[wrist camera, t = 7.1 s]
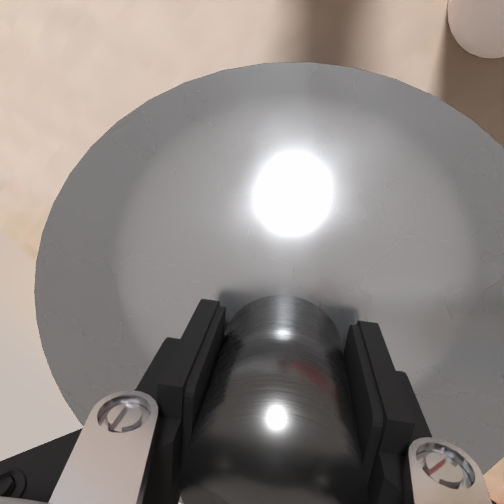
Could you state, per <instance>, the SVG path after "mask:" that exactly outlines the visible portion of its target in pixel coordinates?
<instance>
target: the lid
mask: <svg viewBox="0 0 504 504" xmlns="http://www.w3.org/2000/svg"><path fill="white" fill-rule="evenodd" d="M34 293H35V306H36V318H37V324H38V328H39V334H40V338H41V343H42V347H43V350H44V353H45V356H46V359H47V362H48V364H49V367H50V370H51V373H52V375H53V377H54V379H55V381H56V383H57V385H58V387H59V389H60V391H61V393H62V395H63V397H64V399H65V400H66V402H67V403H68V405H69V407H70V408H71V410H72V411H73V413H74V414H75V415H76V417H77V419H78V420H79V421H80V423H81V424H82V425H83V426H84V425H85V423H86V421H87V418H88V416H89V414H90V412H91V410H92V409H93V407H94V406H95V404H96V403H98V402H99V401H100V400H101V399H103V398H104V397H106V396H108V395H110V394H112V393H116V392H120V391H129V390H134V391H135V389H136V388H137V386H138V384H139V382H140V381H141V379H142V377H143V376H144V374H145V372H146V370H147V369H148V367H149V365H150V364H151V362H152V360H153V358H154V357H155V355H156V353H157V352H158V350H159V348H160V347H161V345H162V343H163V341H164V340H165V339H166V338H167V337H171V338H178V339H180V338H181V337H182V335H183V333H184V331H185V329H186V327H187V325H188V323H189V321H190V319H191V317H192V315H193V313H194V312H195V310H196V308H197V306H198V304H199V302H200V300H201V299H208V300H215V301H220V306H224V307H226V316H225V328H224V339H223V342H222V345H221V348H220V351H219V354H218V357H217V360H216V363H215V366H214V369H213V372H212V375H211V378H210V381H209V384H208V387H207V390H206V393H205V396H204V399H203V402H202V405H201V408H200V411H199V414H198V417H197V420H196V423H195V427H194V430H193V433H192V436H191V438H190V441H189V444H188V448H187V451H186V454H185V457H184V460H183V463H182V466H181V470H180V474H179V489H180V494H181V496H180V499H179V502H180V503H182V504H368V488H367V483H366V477H365V472H364V466H363V461H362V455H361V450H360V444H359V439H358V433H357V428H356V422H355V417H354V411H353V406H352V400H351V394H350V389H349V383H348V378H347V372H346V367H345V361H344V356H343V354H344V349H345V344H346V339H347V334H348V330H349V326H350V324H353V325H356V323H357V321H358V320H360V321H367V322H374V323H378V324H379V327H380V330H381V332H382V335H383V338H384V340H385V343H386V346H387V349H388V351H389V354H390V357H391V359H392V362H393V365H394V367H395V370H396V371H403V372H405V373H406V374H407V376H408V378H409V381H410V383H411V386H412V388H413V391H414V393H415V396H416V398H417V400H418V403H419V405H420V408H421V410H422V413H423V415H424V418H425V420H426V423H427V425H428V427H429V430H430V432H431V435H432V437H433V438H438V439H441V440H444V441H447V442H449V443H451V444H453V445H455V446H457V447H458V448H460V449H462V450H463V451H464V452H465V453H467V454H468V455H469V456H470V457H471V458H472V459H473V460H474V461H475V463H476V464H477V465H478V466H479V468H480V470H481V472H482V474H483V475H484V474H485V473H486V472H487V471H488V470H489V469H490V468H492V467H493V466H494V465H495V464H496V463H497V462H498V461H500V460H501V459H502V458H503V457H504V147H503V146H502V145H500V144H499V143H498V142H497V141H496V140H495V139H494V138H492V137H491V136H490V135H489V134H488V133H487V132H486V131H484V130H483V129H482V128H481V127H480V126H479V125H478V124H476V123H475V122H474V121H473V120H472V119H470V118H469V117H467V116H466V115H464V114H462V113H461V112H459V111H458V110H456V109H454V108H453V107H451V106H450V105H448V104H447V103H445V102H443V101H442V100H440V99H439V98H437V97H435V96H433V95H431V94H429V93H426V92H424V91H422V90H419V89H417V88H415V87H413V86H410V85H408V84H406V83H403V82H401V81H399V80H397V79H394V78H390V77H386V76H383V75H379V74H375V73H372V72H368V71H364V70H361V69H357V68H353V67H345V66H337V65H329V64H321V63H312V62H291V63H263V64H257V65H251V66H245V67H239V68H233V69H227V70H222V71H219V72H216V73H213V74H210V75H207V76H204V77H201V78H198V79H194V80H191V81H188V82H185V83H183V84H181V85H179V86H177V87H175V88H173V89H171V90H169V91H166V92H164V93H162V94H160V95H158V96H156V97H154V98H152V99H150V100H148V101H147V102H145V103H144V104H143V105H141V106H140V107H138V108H137V109H135V110H134V111H132V112H131V113H130V114H128V115H127V116H125V117H124V118H122V119H121V120H119V121H118V122H117V123H116V124H115V125H114V126H113V127H111V128H110V129H109V130H108V131H107V132H106V133H105V134H104V135H103V136H102V137H101V138H100V139H99V140H98V141H97V142H96V143H95V144H93V145H92V146H91V147H90V149H89V150H88V151H87V153H86V154H85V155H84V156H83V158H82V159H81V160H80V162H79V163H78V164H77V165H76V167H75V168H74V169H73V171H72V172H71V173H70V174H69V176H68V178H67V180H66V182H65V183H64V185H63V187H62V189H61V191H60V192H59V194H58V196H57V198H56V200H55V201H54V203H53V206H52V209H51V211H50V214H49V217H48V219H47V222H46V225H45V227H44V230H43V233H42V237H41V242H40V247H39V252H38V256H37V261H36V274H35V291H34Z"/></svg>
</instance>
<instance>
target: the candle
mask: <svg viewBox="0 0 504 504" xmlns="http://www.w3.org/2000/svg"><path fill="white" fill-rule="evenodd" d="M447 10H448V23H449V26H450V30H451V33H452V35H453V37H454V38H455V40H456V41H457V43H458V44H459V45H460V46H461V47H462V48H463V49H465V50H466V51H467V52H468V53H470V54H473V55H476V56H478V57H481V58H494V59H495V58H500V57H504V0H448V5H447Z"/></svg>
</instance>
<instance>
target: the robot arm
mask: <svg viewBox="0 0 504 504" xmlns="http://www.w3.org/2000/svg"><path fill="white" fill-rule="evenodd" d="M225 316H226V307H224V306H220V301H215V300H208V299H201V300H200V302H199V304H198V306H197V308H196V310H195V312H194V313H193V315H192V317H191V319H190V321H189V323H188V325H187V327H186V329H185V331H184V333H183V335H182V337H181V338H180V339H178V338H171V337H167V338H166V339H165V340H164V341H163V343H162V345H161V347H160V348H159V350H158V352H157V353H156V355H155V357H154V358H153V360H152V362H151V364H150V365H149V367H148V369H147V370H146V372H145V374H144V376H143V377H142V379H141V381H140V382H139V384H138V386H137V388H136V389H135V391H134V390H129V391H120V392H116V393H112V394H110V395H108V396H106V397H104V398H103V399H101V400H100V401H99V402H98V403H96V404H95V406H94V407H93V409H92V410H91V412H90V414H89V416H88V418H87V421H86V423H85V425H84V427H83V428H82V429H80V430H77V431H75V432H72V433H70V434H67V435H65V436H62V437H60V438H57V439H55V440H52V441H50V442H47V443H45V444H43V445H40V446H38V447H35V448H32V449H30V450H27V451H25V452H23V453H20V454H18V455H15V456H13V457H10V458H8V459H5V460H3V461H0V504H178V502H179V499H180V496H181V494H180V489H179V474H180V470H181V466H182V463H183V460H184V457H185V454H186V451H187V448H188V444H189V441H190V438H191V436H192V433H193V430H194V427H195V423H196V420H197V417H198V414H199V411H200V408H201V405H202V402H203V399H204V396H205V393H206V390H207V387H208V384H209V381H210V378H211V375H212V372H213V369H214V366H215V363H216V360H217V357H218V354H219V351H220V348H221V345H222V342H223V339H224V328H225ZM343 356H344V361H345V367H346V372H347V378H348V383H349V389H350V394H351V400H352V406H353V411H354V417H355V422H356V428H357V433H358V439H359V444H360V450H361V455H362V461H363V466H364V472H365V477H366V483H367V488H368V504H496V503H495V502H494V501H492V500H491V498H490V495H489V492H488V489H487V486H486V483H485V480H484V477H483V474H482V472H481V470H480V468H479V466H478V465H477V464H476V463H475V461H474V460H473V459H472V458H471V457H470V456H469V455H468V454H467V453H465V452H464V451H463V450H462V449H460V448H458V447H457V446H455V445H453V444H451V443H449V442H447V441H444V440H441V439H438V438H433V437H432V435H431V432H430V430H429V427H428V425H427V423H426V420H425V418H424V415H423V413H422V410H421V408H420V405H419V403H418V400H417V398H416V396H415V393H414V391H413V388H412V386H411V383H410V381H409V378H408V376H407V374H406V373H405V372H403V371H396V370H395V367H394V365H393V362H392V359H391V357H390V354H389V351H388V349H387V346H386V343H385V340H384V338H383V335H382V332H381V330H380V327H379V324H378V323H374V322H367V321H360V320H358V321H357V323H356V325H353V324H350V326H349V330H348V334H347V339H346V344H345V349H344V354H343Z"/></svg>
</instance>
